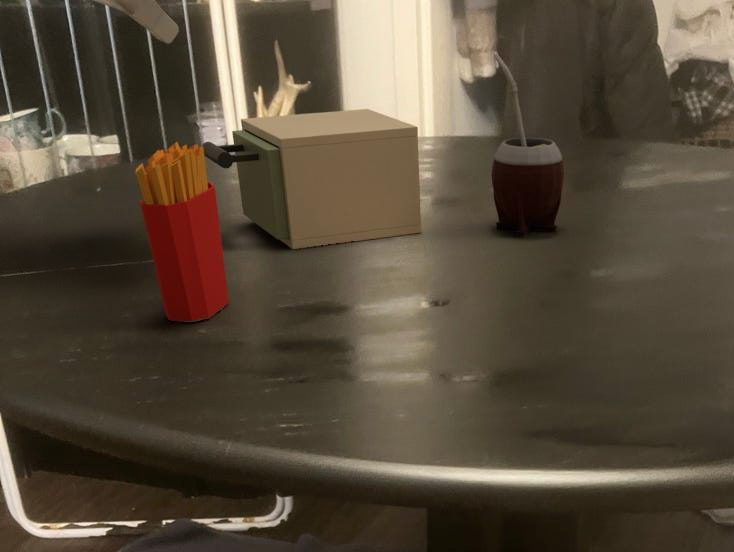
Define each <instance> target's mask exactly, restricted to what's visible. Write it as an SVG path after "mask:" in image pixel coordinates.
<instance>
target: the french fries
mask: <svg viewBox="0 0 734 552" xmlns="http://www.w3.org/2000/svg"><path fill="white" fill-rule="evenodd" d="M147 163H148V164H147V166H146V167H145V166H144V164H143V163H140V164H139V165H138V166H137V167H136V168H135V176H136V179H137V182H138V185H139V188H140V190H141V194H142V199H139V205H140V208H141V213H142V217H143V221H144V226H145V230H146V236H147V239H148V243H149V248H150V253H151V256H152V261H153V265H154V270H155V274H156V279H157V283H158V288H159V292H160V296H161V300H162V301H161V302H162V306H163V309H164V314H165V317H166V316H167V317H168V318H167V317H166V318H167V320H168V321H169V320H172V321H195V320H198V319H204V318H209V317H210V316H212V315H213V314H214V313H216V312H217V311H218V310H220V309H221V308H222V307H223V306H225V305H226V304H227V303H229V304H230V301H229V292H228V286H227V285H228V283H227V276H226V269H225V260H224V253H223V252H224V251H223V244H222V235H221V226H220V219H219V211H218V203H217V193H216V187H215V185H214V184H213V183H212V182H209V181H208V175H207V167H206V156H204V148H203V146H202V145H201V146H199V143H197V144H193V145H192V146H190V147H188V145H187V144H184V145H183V146H180V145H179V142H178V141H176V142H175V143H173V144H172V145H171V146H169V148H167V149H166V150H165V151H164V149H161V150H160V149H157V150H156V151H155V152H154V153H153V154H152V155H151V156H150V157H149V159H148V160H147Z"/></svg>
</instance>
